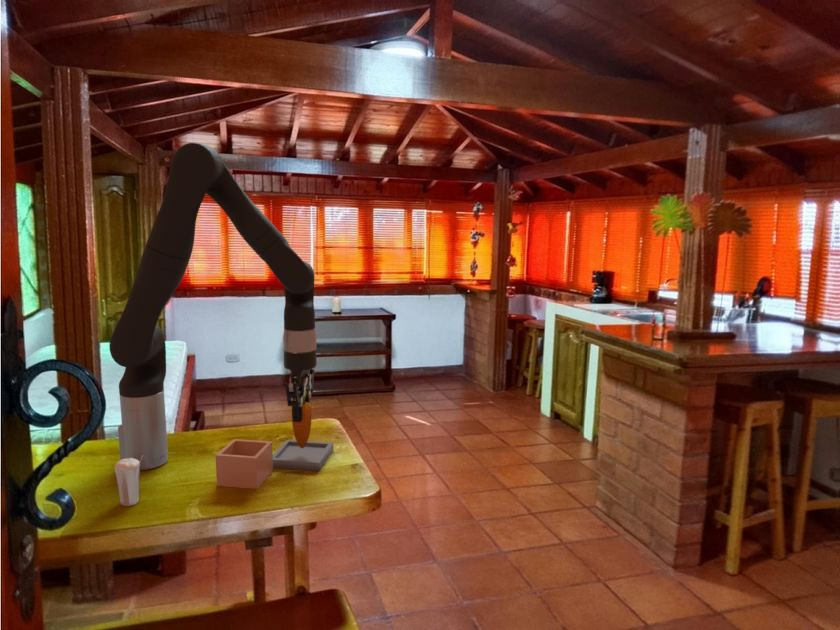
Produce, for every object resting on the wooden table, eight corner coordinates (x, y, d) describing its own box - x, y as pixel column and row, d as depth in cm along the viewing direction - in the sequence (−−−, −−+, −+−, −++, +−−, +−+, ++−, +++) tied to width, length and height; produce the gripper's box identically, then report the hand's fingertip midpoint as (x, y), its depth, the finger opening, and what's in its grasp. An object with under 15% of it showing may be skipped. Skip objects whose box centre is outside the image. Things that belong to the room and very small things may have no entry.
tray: (268, 467, 135) (268, 459, 135) (286, 447, 147) (286, 439, 147) (319, 471, 134) (319, 462, 134) (333, 450, 146) (333, 442, 145)
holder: (216, 485, 126) (215, 455, 125) (235, 467, 135) (234, 439, 134) (257, 489, 125) (256, 458, 124) (273, 470, 134) (272, 441, 133)
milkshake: (141, 507, 116) (138, 460, 115) (113, 508, 116) (109, 460, 114) (150, 496, 121) (146, 451, 119) (123, 497, 120) (119, 451, 119)
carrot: (308, 453, 137) (307, 392, 135) (288, 451, 138) (286, 390, 136) (315, 445, 142) (315, 385, 139) (296, 443, 143) (295, 384, 140)
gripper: (294, 340, 143) (296, 406, 146) (273, 353, 129) (274, 427, 132) (324, 341, 142) (325, 408, 145) (305, 355, 128) (307, 429, 131)
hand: (301, 416), depth 139 cm, fingers closed on carrot, 5 cm apart
